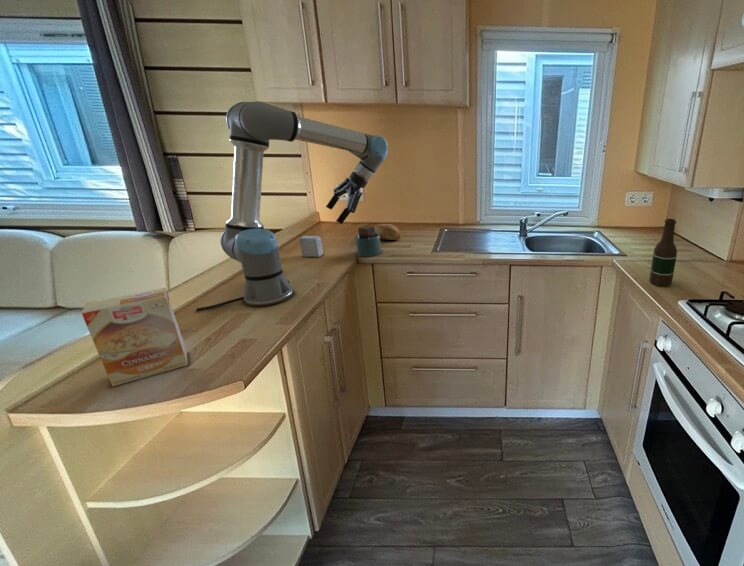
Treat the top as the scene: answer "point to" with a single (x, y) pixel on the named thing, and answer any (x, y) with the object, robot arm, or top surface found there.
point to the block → (366, 232)
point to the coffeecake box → (135, 335)
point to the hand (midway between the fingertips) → (333, 215)
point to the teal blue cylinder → (368, 246)
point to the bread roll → (388, 232)
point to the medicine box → (311, 246)
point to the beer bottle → (664, 257)
